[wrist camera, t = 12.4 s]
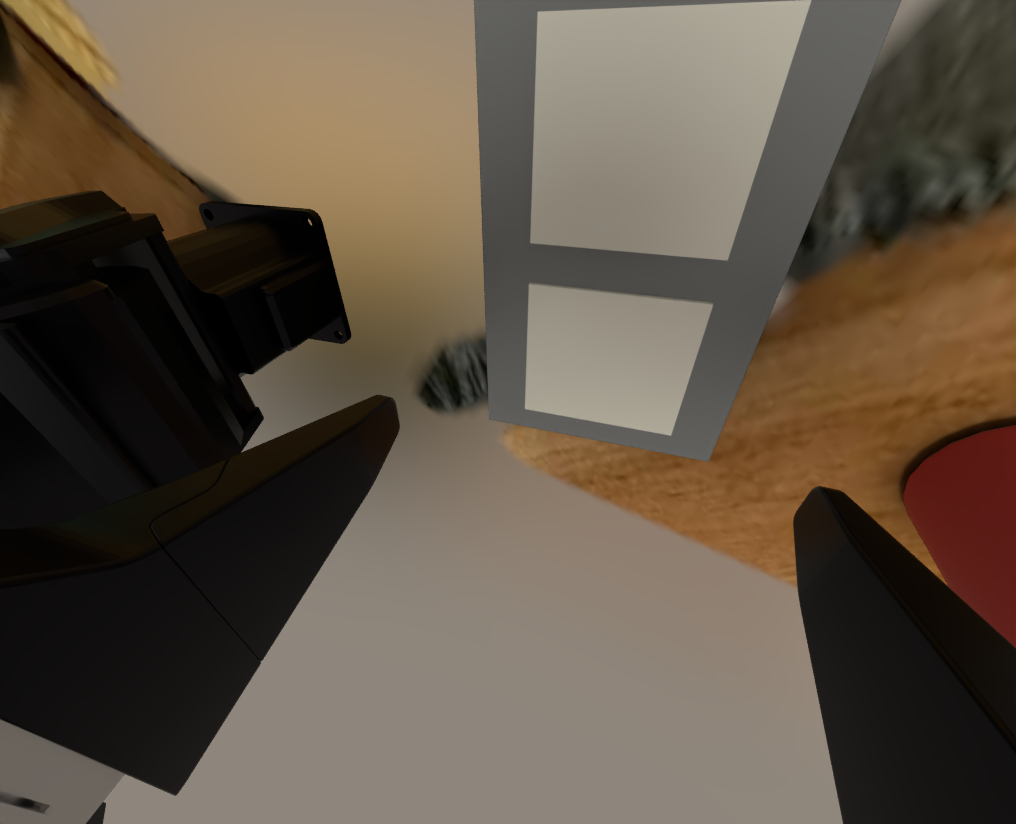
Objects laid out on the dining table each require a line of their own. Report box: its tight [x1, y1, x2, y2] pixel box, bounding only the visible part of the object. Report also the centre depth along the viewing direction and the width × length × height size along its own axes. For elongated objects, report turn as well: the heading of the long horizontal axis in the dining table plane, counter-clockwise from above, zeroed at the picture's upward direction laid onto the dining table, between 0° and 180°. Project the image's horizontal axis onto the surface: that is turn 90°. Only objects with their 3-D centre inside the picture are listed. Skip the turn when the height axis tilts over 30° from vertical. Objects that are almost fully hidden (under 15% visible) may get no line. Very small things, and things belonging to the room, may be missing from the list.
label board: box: [474, 0, 901, 462], centre depth 16 cm, size 11×17×1 cm, turn 179°
